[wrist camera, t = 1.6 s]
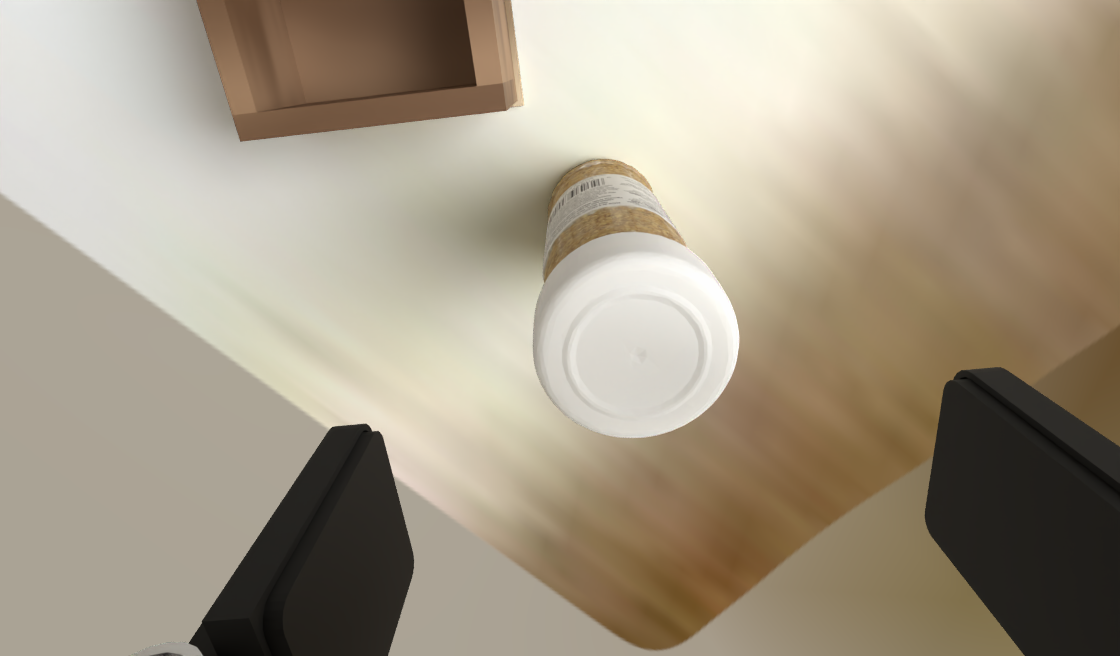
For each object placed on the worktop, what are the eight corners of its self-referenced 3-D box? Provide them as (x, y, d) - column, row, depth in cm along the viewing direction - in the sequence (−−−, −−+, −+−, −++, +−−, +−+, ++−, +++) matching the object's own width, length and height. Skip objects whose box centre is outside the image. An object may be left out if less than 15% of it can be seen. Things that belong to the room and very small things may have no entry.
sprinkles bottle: (571, 279, 27) (576, 471, 14) (530, 180, 25) (495, 302, 13) (672, 241, 26) (768, 409, 14) (636, 137, 24) (710, 221, 12)
